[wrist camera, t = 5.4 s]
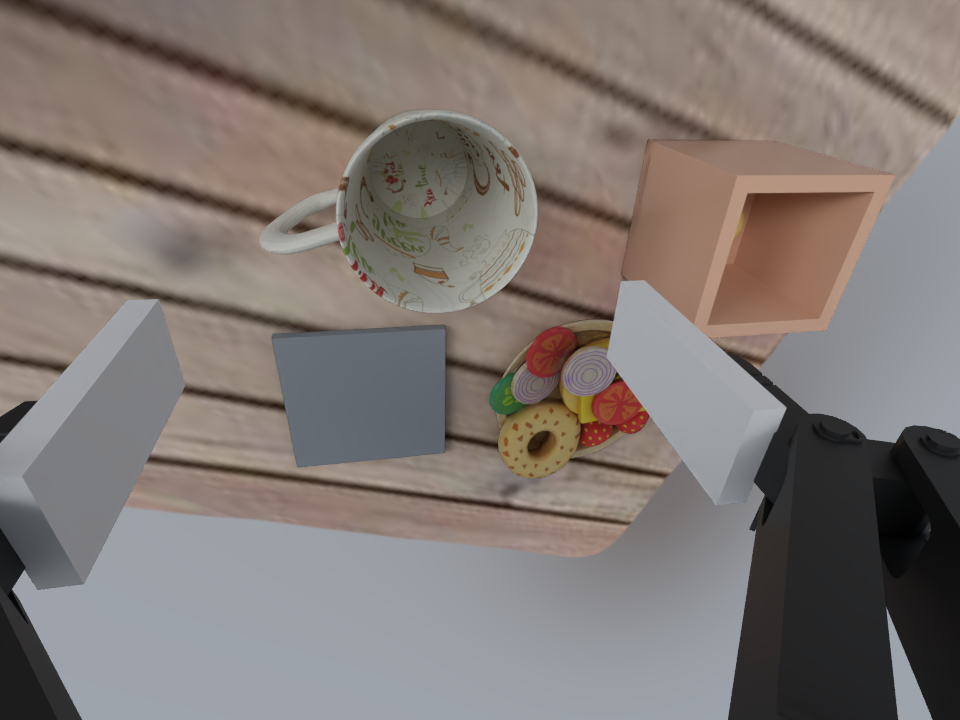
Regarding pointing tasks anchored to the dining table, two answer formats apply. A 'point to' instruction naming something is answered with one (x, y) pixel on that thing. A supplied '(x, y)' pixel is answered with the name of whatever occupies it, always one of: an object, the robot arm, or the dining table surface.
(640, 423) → the toy food set
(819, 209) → the planter
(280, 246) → the mug
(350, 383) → the coaster
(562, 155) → the dining table surface
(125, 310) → the robot arm
